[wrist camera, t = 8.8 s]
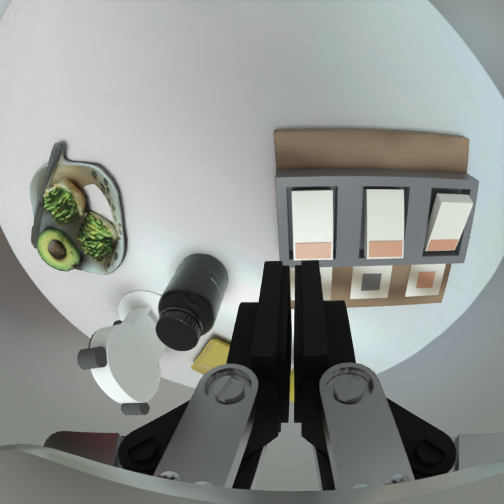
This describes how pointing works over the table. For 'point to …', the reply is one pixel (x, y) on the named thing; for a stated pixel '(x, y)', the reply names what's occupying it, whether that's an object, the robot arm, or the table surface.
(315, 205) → the rocker
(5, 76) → the table surface
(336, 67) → the table surface
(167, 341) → the supplement bottle
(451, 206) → the rocker
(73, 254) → the salad plate
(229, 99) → the table surface
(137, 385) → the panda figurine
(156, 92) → the table surface
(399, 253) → the rocker
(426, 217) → the switch housing
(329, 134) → the board
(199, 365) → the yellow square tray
